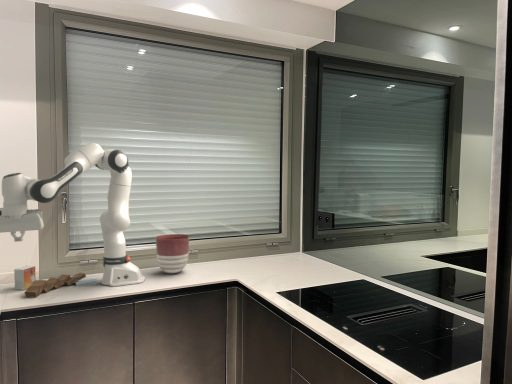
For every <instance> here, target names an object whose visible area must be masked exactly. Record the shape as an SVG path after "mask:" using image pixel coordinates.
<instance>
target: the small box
mask: <svg viewBox="0 0 512 384" xmlns="http://www.w3.org/2000/svg"><path fill="white" fill-rule="evenodd" d="M13 273H14V276H13V277H14V290H17V291H24V290H25V291H26V290H27V289H28V288H29V287H30V286H31V285H32V283H33V282H34V281H35V280H37V279H36V266H34V265H25V266H22V267H19V268H14V269H13Z"/></svg>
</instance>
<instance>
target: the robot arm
mask: <svg viewBox="0 0 512 384" xmlns="http://www.w3.org/2000/svg"><path fill="white" fill-rule="evenodd" d="M63 162H64V163H63V164H64V168H63V169H62V170H60V171H59V172H57V173H55V175H53V176H51V177H50V178H48V179H36V178H32V177H30V176H27V175H25V174H23V173H21V172H15V173H9V174H5V175H4V176H2V179H1V196H2V197H3V203H2V205H3V206H2V207H0V233H10V236H11V237H12V238H13V240H14V241H13V242H16V243H17V242H23V241H24V235H25V234H26V232H27V231H28V232H31V231H41V230H42V229H43V228H44V225H45V224H44V221H43V218H44V214H43V211H42V210H41V209H38V208H35V209H28V201H33V202H38V203H42V204H46V203H50V202H52V201H53V200H54V199H56V198H57V196H58V194H59V192H60V191H61V190H62V189H64V187H65V186H67V185H68V184H70V183H71V182H72V181H73V180H75V179H76V178H78V176H80V175H82V174H83V173H85V172H87V171H88V170H91V168H93V167H94V166H95V167H96V168H98V169H99V170H105V171H109V173H110V180H109V186H108V190H107V206H108V207H107V210H105V211H103V212H102V213H101V214H100V216H99V223H100V227H101V233H102V239H103V258H102V266H103V273H102V279H101V282H100V283H101V284H102V285H104V286H110V287H118V286H119V287H120V286H129V285H136V284H143V283H144V282H145V281H146V277H145V275H144V274H141V269H140V268H139V267H138V266H137V265H135V264H134V263H132V262H131V257H130V255H128V254H127V251H126V250H127V249H126V248H127V247H126V246H127V245H126V244H127V243H126V239H125V236H124V235H125V234H124V231H127V229H128V228H129V227H130V225H131V218H130V208H129V207H130V205H129V204H130V203H129V202H130V195H131V190H132V179H133V177H132V176H133V175H132V169H131V168H130V167H129V158H128V155H127V154H126V152H125V151H123V150H121V149H109V148H108V149H103V148H102V146H101V145H100V144H98V143H96V142H89V143H86V144H84V145H82V146H80V147H78V148H77V149H75V150H73V151H72V152H71V153H69V154H68V155H67V156H66V157H65V158H64V161H63ZM17 232H19V234H20V236H17V235H16V233H17Z"/></svg>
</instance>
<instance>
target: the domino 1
mask: <svg viewBox="0 0 512 384" xmlns="http://www.w3.org/2000/svg"><path fill="white" fill-rule="evenodd" d="M46 281H47V279H36V280H35V281H34V282H33V283H32V285H31V286H30V287H29V288H28V289H25V291H24V296H25V298H37V297H39V295H40V294H41V291H42V290H43V289H44V288H45V287H46V286H47V283H46Z"/></svg>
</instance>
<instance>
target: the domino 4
mask: <svg viewBox="0 0 512 384" xmlns="http://www.w3.org/2000/svg"><path fill="white" fill-rule="evenodd" d="M70 277H71V278H70V279H69V280H68V281H66V282H65V283H64V284H63V285H64V286H67V287H69V286H71V285H73V284H76V282H77V281H82V279H84V278H86V277H87V276H86V273H85V272H78V273H76V274H74V275H71V276H70Z"/></svg>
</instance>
